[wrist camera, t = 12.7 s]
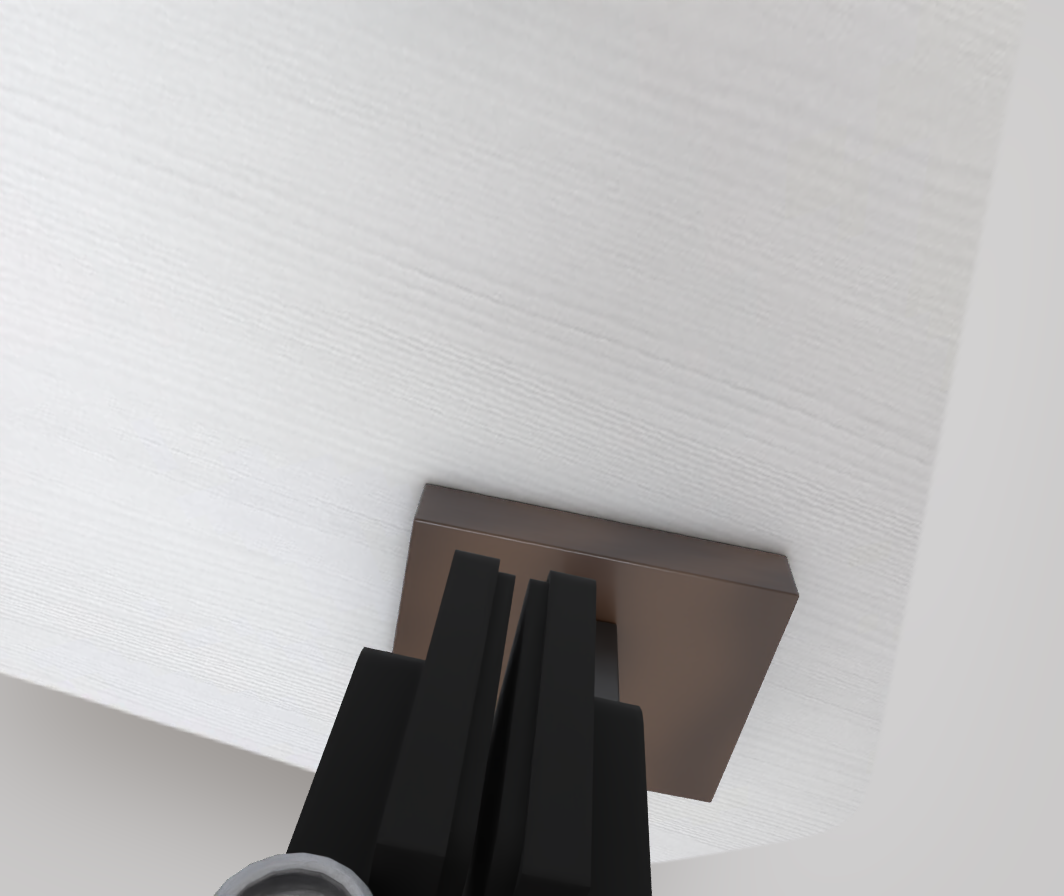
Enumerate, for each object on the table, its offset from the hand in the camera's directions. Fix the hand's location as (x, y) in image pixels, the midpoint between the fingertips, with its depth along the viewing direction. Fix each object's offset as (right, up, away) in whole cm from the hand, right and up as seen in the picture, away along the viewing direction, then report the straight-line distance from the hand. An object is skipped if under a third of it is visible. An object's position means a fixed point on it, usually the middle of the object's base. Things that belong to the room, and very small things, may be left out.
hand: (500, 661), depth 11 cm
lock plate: (+2, -5, +26) cm, 26 cm away
